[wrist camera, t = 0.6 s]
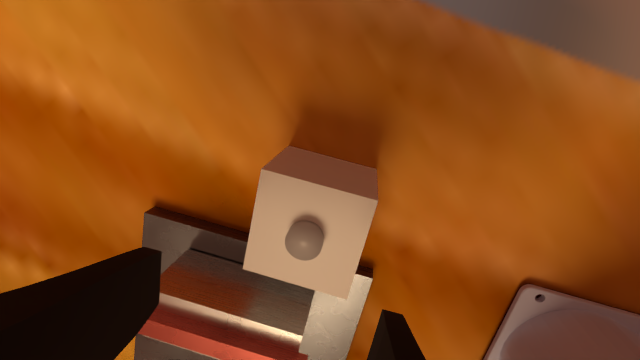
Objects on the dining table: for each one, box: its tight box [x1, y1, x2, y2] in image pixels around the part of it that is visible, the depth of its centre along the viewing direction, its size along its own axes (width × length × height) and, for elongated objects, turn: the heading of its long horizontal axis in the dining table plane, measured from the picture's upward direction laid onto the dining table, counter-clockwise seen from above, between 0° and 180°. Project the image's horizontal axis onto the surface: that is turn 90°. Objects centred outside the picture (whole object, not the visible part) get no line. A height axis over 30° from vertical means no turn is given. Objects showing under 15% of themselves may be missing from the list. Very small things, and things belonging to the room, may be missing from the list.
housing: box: [243, 146, 378, 300], centre depth 17 cm, size 5×5×6 cm
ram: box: [138, 249, 315, 360], centre depth 18 cm, size 9×3×5 cm, turn 77°
